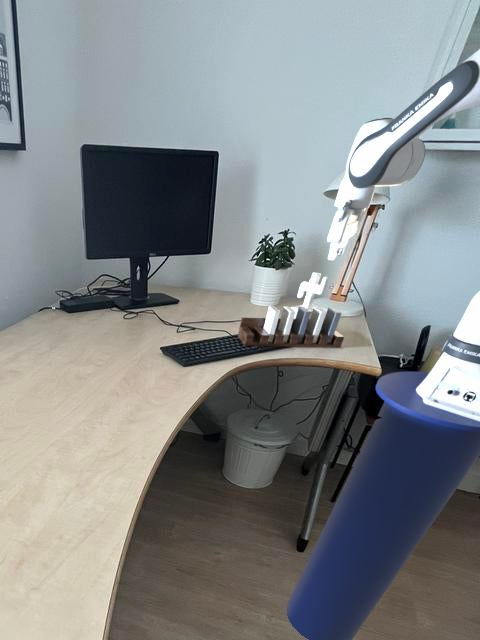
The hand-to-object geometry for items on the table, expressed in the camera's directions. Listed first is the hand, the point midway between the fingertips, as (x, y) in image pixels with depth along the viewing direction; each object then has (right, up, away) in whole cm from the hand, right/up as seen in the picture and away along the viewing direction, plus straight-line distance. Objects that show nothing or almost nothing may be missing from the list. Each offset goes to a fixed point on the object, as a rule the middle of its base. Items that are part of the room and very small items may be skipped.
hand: (334, 257), depth 126 cm
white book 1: (-16, -19, +11) cm, 27 cm away
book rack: (-9, -20, +12) cm, 25 cm away
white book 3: (-2, -20, +11) cm, 23 cm away
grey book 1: (-6, -20, +11) cm, 23 cm away
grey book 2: (+3, -20, +11) cm, 23 cm away
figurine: (+6, -4, +31) cm, 32 cm away
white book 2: (-11, -20, +11) cm, 25 cm away
